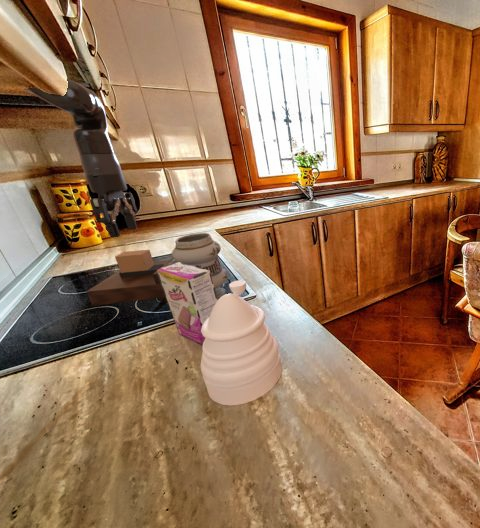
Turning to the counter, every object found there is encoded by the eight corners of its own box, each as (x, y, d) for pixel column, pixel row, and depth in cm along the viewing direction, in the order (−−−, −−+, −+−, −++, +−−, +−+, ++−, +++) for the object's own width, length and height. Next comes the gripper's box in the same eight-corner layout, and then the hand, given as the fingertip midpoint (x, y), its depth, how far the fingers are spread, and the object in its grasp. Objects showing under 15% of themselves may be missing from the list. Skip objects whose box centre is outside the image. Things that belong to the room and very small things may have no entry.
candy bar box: (177, 335, 63) (155, 269, 57) (197, 324, 67) (179, 261, 61) (207, 349, 58) (187, 278, 52) (228, 336, 62) (211, 269, 56)
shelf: (94, 311, 75) (81, 281, 71) (134, 280, 93) (125, 255, 90) (167, 303, 77) (157, 273, 74) (192, 274, 96) (185, 250, 92)
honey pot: (261, 343, 59) (246, 265, 52) (295, 374, 50) (282, 286, 43) (197, 376, 51) (169, 289, 44) (223, 420, 42) (194, 319, 35)
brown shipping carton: (120, 277, 80) (112, 257, 78) (129, 271, 84) (122, 251, 82) (158, 274, 82) (151, 253, 79) (165, 268, 86) (158, 248, 83)
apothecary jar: (179, 298, 80) (161, 238, 73) (221, 283, 88) (207, 228, 81) (195, 312, 72) (176, 247, 65) (239, 294, 80) (226, 235, 73)
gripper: (105, 172, 78) (124, 228, 84) (66, 175, 65) (92, 241, 71) (134, 170, 79) (151, 226, 85) (102, 173, 66) (124, 238, 72)
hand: (124, 232), depth 78 cm, fingers open, 8 cm apart
